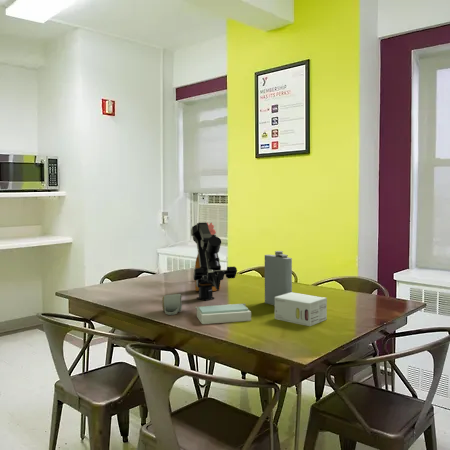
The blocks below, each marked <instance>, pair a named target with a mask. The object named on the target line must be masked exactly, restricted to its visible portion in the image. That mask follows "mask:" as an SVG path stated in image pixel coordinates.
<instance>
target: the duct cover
mask: <svg viewBox="0 0 450 450" xmlns="http://www.w3.org/2000/svg"><path fill="white" fill-rule="evenodd" d="M243 304H244V303H232V304H230V303H229V304H216V305H202V306H201V305H200V306H197V308H198V309H199V310H200V311H201V313H202V314H209V313H224V312H238V311H248V310H249V308H248V307H247V306H246V305H243Z"/></svg>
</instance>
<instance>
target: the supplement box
mask: <svg viewBox="0 0 450 450" xmlns="http://www.w3.org/2000/svg"><path fill="white" fill-rule="evenodd" d="M327 298H328V297H323V296H318V295H317V296H316V295H312V294H305V293H299V292H293V291H292V292H290V293H287V294H283V295H280V296H276V297H275V305H274V320H279V321H283V322H288V323H291V324H297V325H302V326H306V327H311V326H314V325H317V324H319V323H322V322H323V321H327V316H328V315H327V314H328V312H327V311H328V309H327V307H328V299H327Z"/></svg>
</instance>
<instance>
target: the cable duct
mask: <svg viewBox="0 0 450 450" xmlns="http://www.w3.org/2000/svg"><path fill="white" fill-rule="evenodd" d="M242 304H243V305H245V306H246V303H242ZM194 309H195V310H196V317H197V319H198V320H199V322H200V323H201V324H202V325H210V324H220V323H221V324H222V323H223V324H224V323H236V322H238V323H239V322H250V321H252V311H251V310H250V309H248V311H238V312H224V313H209V314H202V313H201V311H200V310H199V309H198V306H195V307H194Z"/></svg>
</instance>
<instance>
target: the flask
mask: <svg viewBox="0 0 450 450" xmlns="http://www.w3.org/2000/svg"><path fill="white" fill-rule="evenodd" d="M292 279H293V258H291V257H288V254H285V253H284V251H282V250H276V251H274V254H264V304H268V305H272V306H275V297H276V296H280V295H283V294H287V293H290V292H293V280H292Z"/></svg>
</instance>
